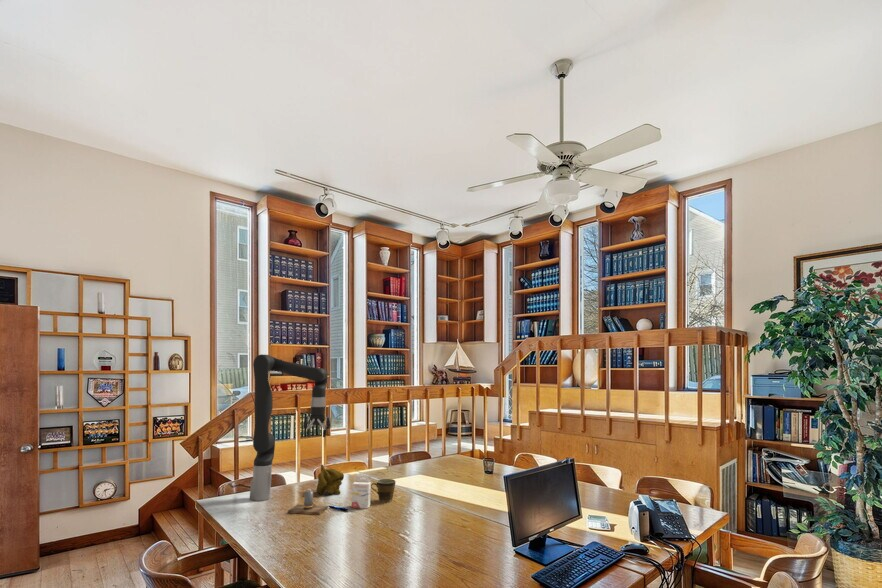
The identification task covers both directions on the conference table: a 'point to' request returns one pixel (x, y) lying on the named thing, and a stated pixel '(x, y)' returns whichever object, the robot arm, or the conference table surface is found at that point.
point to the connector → (308, 499)
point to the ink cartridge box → (361, 492)
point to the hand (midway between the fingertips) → (316, 436)
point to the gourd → (329, 481)
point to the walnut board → (314, 510)
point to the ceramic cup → (385, 489)
